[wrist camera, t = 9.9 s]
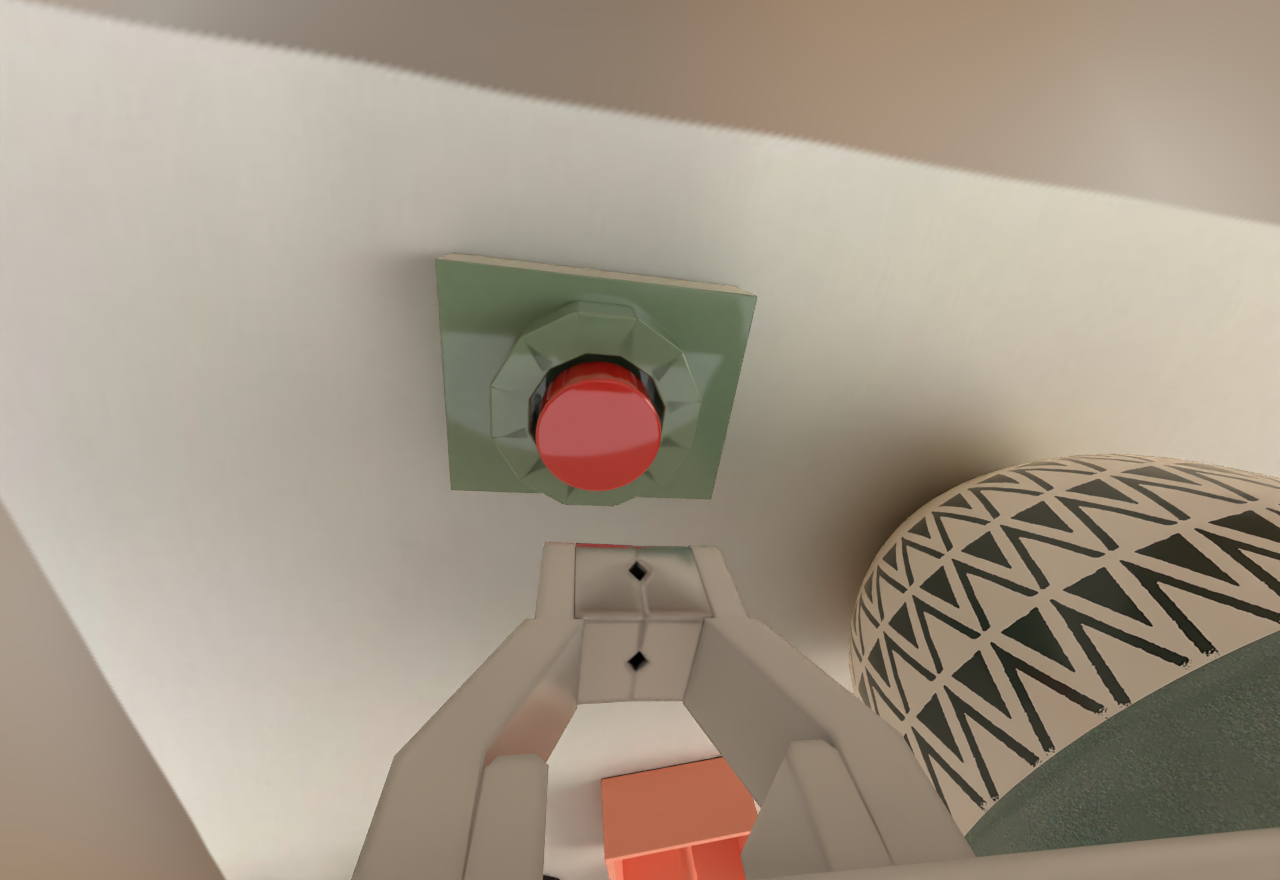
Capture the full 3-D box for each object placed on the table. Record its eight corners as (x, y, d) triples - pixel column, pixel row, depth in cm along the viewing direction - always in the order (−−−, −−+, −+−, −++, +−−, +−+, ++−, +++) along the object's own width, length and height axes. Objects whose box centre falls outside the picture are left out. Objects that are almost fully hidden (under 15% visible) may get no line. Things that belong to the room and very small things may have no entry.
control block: (463, 461, 19) (437, 520, 15) (453, 252, 15) (414, 264, 12) (698, 472, 20) (724, 527, 17) (737, 285, 17) (780, 306, 13)
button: (538, 461, 15) (533, 490, 13) (541, 355, 13) (536, 373, 12) (645, 466, 16) (652, 494, 14) (660, 365, 14) (670, 384, 12)
